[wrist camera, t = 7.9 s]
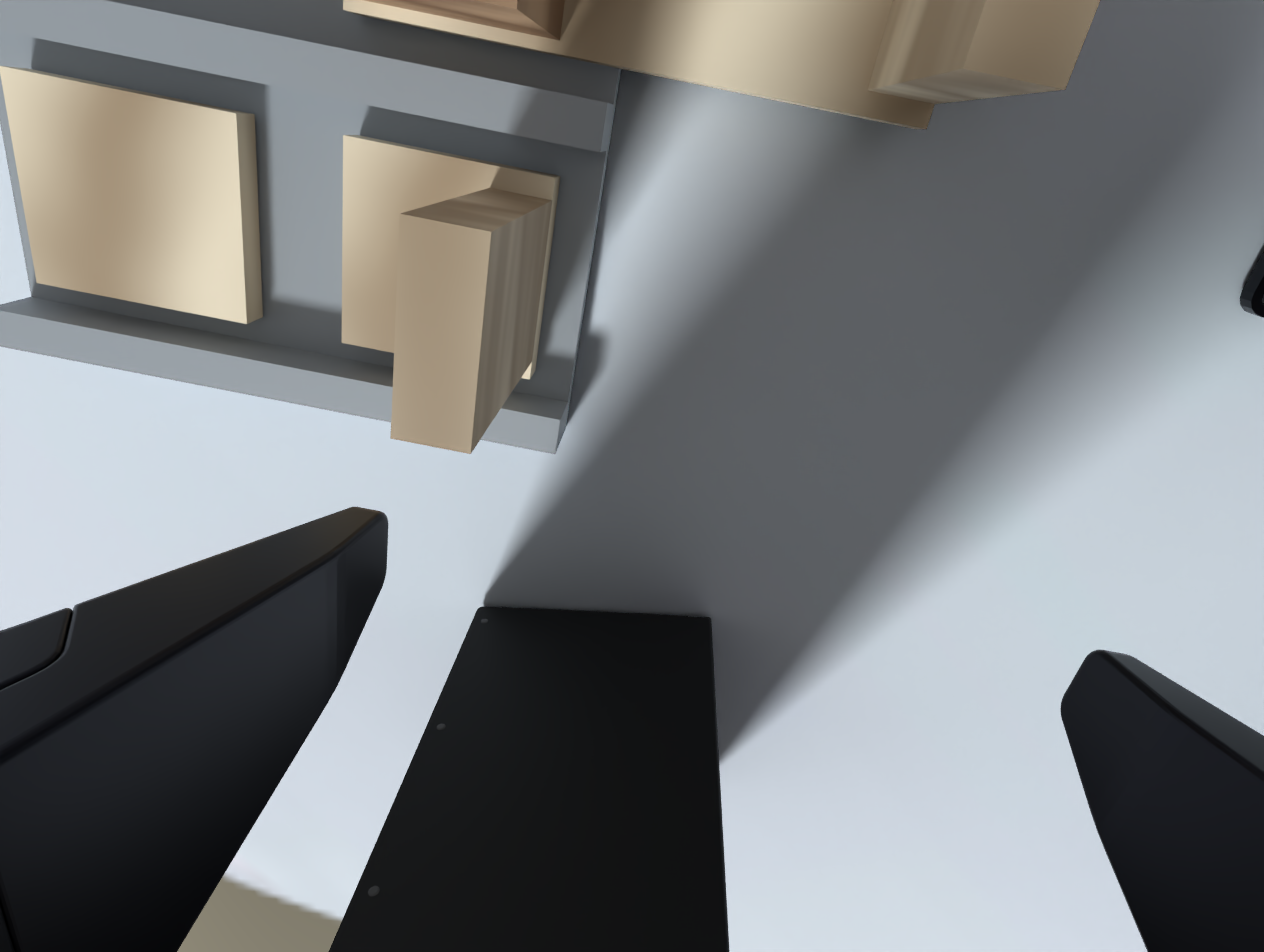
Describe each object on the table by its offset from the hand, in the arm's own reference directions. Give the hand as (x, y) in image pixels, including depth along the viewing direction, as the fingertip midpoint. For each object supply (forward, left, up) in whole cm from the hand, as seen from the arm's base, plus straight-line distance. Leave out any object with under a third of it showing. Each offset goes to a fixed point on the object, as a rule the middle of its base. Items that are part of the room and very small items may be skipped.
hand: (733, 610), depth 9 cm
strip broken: (+11, -1, -12) cm, 16 cm away
